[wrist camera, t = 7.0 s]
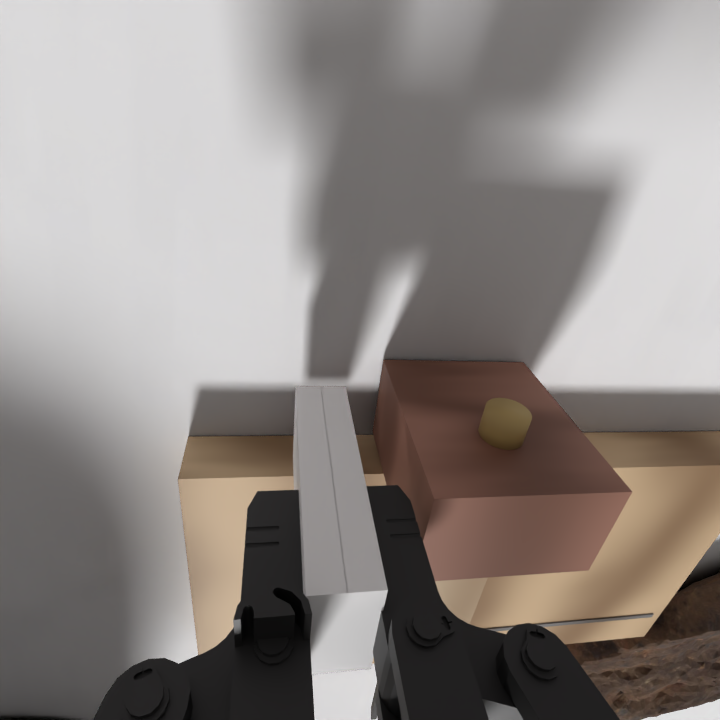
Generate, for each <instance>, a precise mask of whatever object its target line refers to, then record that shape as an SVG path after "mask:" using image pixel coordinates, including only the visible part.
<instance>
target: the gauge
mask: <svg viewBox="0 0 720 720" xmlns="http://www.w3.org/2000/svg"><path fill="white" fill-rule="evenodd" d="M372 431H373V435H374V439H375V443H376V447H377V451H378V454H379V458H380V462H381V466H382V470H383V473H384V477H385V481H386V485H398V486H399V487H400V488H401V489H402V491H403V492H404V493H405V494H406V495H407V497H408V498H409V499H410V500H411V504H412V507H413V510H414V513H415V517H416V522H417V523H418V527H419V530H420V536H421V537H422V540H423V543H424V546H425V550H426V553H427V556H428V560H429V563H430V566H431V569H432V573H433V576H434V579H435V583H436V586H437V589H438V592H439V594H440V597H441V599H442V601H443V602H444V604H445V605H446V606H447V608H448V609H449V610H450V611H451V612H452V613H453V614H454V615H455V616H456V617H458V618H459V619H461V620H463V621H464V622H466V623H468V624H470V622H471V619H472V617H473V614H474V611H475V609H476V606H477V604H478V601H479V599H480V596H481V594H482V591H483V589H484V586H485V583H486V581H487V578H489V577H503V576H518V575H532V574H547V573H561V572H575V571H589V569H590V567H591V565H592V564H593V562H594V560H595V558H596V556H597V555H598V553H599V551H600V549H601V547H602V546H603V544H604V542H605V540H606V538H607V537H608V535H609V533H610V531H611V530H612V528H613V526H614V524H615V522H616V521H617V519H618V517H619V515H620V513H621V512H622V510H623V508H624V506H625V504H626V503H627V501H628V499H629V497H630V495H631V494H632V491H631V489H630V488H629V487H628V486H627V485H626V484H625V482H624V481H623V480H622V479H621V478H620V476H619V475H618V474H617V473H616V472H615V470H614V469H613V468H612V467H611V466H610V465H609V463H608V462H607V461H606V460H605V459H604V457H603V456H602V455H601V454H600V453H599V451H598V450H597V449H596V448H595V447H594V446H593V444H592V443H591V442H590V441H589V440H588V438H587V437H586V436H585V435H584V434H583V432H582V431H581V430H580V429H579V428H578V427H577V425H576V424H575V423H574V422H573V421H572V419H571V418H570V417H569V416H568V415H567V413H566V412H565V411H564V410H563V409H562V408H561V406H560V405H559V404H558V403H557V402H556V400H555V399H554V398H553V397H552V396H551V394H550V393H549V392H548V391H547V390H546V388H545V387H544V386H543V385H542V384H541V383H540V381H539V380H538V379H537V378H536V377H535V375H534V374H533V373H532V372H531V371H530V369H529V368H528V367H527V366H526V365H525V364H524V362H477V361H425V360H383V366H382V373H381V379H380V386H379V392H378V398H377V405H376V411H375V417H374V424H373V430H372Z"/></svg>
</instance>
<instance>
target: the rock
mask: <svg viewBox="0 0 720 720" xmlns="http://www.w3.org/2000/svg"><path fill="white" fill-rule="evenodd" d="M565 645H566V646H567V647H568V649H569V650H570V652H571V653H572V654H573V656H574V657H575V658H576V660H577V661H578V663H579V664H580V665H581V667H582V668H583V669H584V671H585V672H586V674H587V675H588V676H589V678H590V679H591V680H592V682H593V683H594V685H595V686H596V687H597V689H598V690H599V691H600V693H601V694H602V696H603V697H604V698H605V700H606V701H607V702H608V704H609V705H610V707H611V708H612V709H613V711H614V712H615V713H616V715H617V716H618V718H619V719H620V720H641V719H644V718H647V717H656V716H659V715H661V714H665V713H669V712H674V711H678V710H683V709H687V708H689V707H695V706H698V705H702V704H704V703H707V702H713V701H715V700H717V699H720V572H719V573H717V574H716V575H713V576H710V577H708V578H705V579H702V580H700V581H698V582H695V583H693V584H691V585H689V586H688V587H686V588H684V589H683V590H681V591H679V592H677V593H676V594H675V595H674V596H673V598H672V599H671V601H670V602H669V603H668V605H667V606H666V607H665V609H664V610H663V611H662V613H661V614H660V616H659V617H658V618H657V620H656V621H655V622H654V624H653V625H652V626H651V628H650V629H649V631H648V632H647V633H646V635H645V636H644V637H634V638H624V639H614V640H604V641H594V642H584V643H574V644H565Z"/></svg>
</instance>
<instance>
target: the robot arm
mask: <svg viewBox="0 0 720 720" xmlns="http://www.w3.org/2000/svg"><path fill="white" fill-rule="evenodd" d="M293 476H294V490H275V491H257V493H256V494H255V496H254V498H253V500H252V501H251V503H250V505H249V506H248V508H247V521H246V534H245V548H244V561H243V575H242V588H241V601H240V603H239V604H238V605H237V608H236V612H235V615H234V619H233V625H234V627H233V629H232V630H231V631H230V633H229V634H228V635H227V637H226V638H225V639H224V640H223V641H221V642H220V643H219V644H218V645H217V646H215V647H214V648H212V649H210V650H208V651H207V652H205V653H202V654H200V655H198V656H196V657H193V658H191V659H189V660H186V661H184V662H182V663H179V664H178V663H175V662H173V661H171V660H168V659H166V658H159V659H148V660H146V661H143V662H141V663H138V664H136V665H134V666H132V667H131V668H129V669H128V670H127V671H126V672H125V673H123V674H122V675H121V676H120V677H118V678H117V680H116V681H115V682H114V684H113V685H112V687H111V688H110V690H109V691H108V693H107V694H106V696H105V698H104V700H103V702H102V704H101V706H100V708H99V710H98V712H97V714H96V716H95V718H94V720H314V704H313V686H312V675H314V674H324V673H334V672H344V671H353V670H363V669H371V666H372V662H373V657H374V663H375V670H376V676H377V685H376V689H375V693H374V697H373V702H372V706H371V719H376V718H377V716H378V720H620V719H619V718H618V716H617V715H616V713H615V712H614V711H613V709H612V708H611V707H610V705H609V704H608V702H607V701H606V700H605V698H604V697H603V696H602V694H601V693H600V691H599V690H598V689H597V687H596V686H595V685H594V683H593V682H592V680H591V679H590V678H589V676H588V675H587V674H586V672H585V671H584V669H583V668H582V667H581V665H580V664H579V663H578V661H577V660H576V658H575V657H574V656H573V654H572V653H571V652H570V650H569V649H568V647H567V646H566V645H565V644H564V643H563V642H562V641H561V640H560V639H559V638H558V637H557V636H556V635H555V634H554V633H552V632H550V631H549V630H547V629H546V628H544V627H542V626H539V625H535V624H531V623H525V624H518V625H516V626H514V627H513V628H512V629H510V630H509V631H508V632H507V634H503V633H499V632H496V631H492V630H488V629H484V628H480V627H476V626H474V625H471V624H468V623H466V622H464V621H463V620H461V619H459V618H458V617H456V616H455V615H454V614H453V613H452V612H451V611H450V610H449V609H448V608H447V606H446V605H445V604H444V602H443V601H442V599H441V597H440V594H439V592H438V589H437V586H436V583H435V579H434V576H433V573H432V569H431V566H430V563H429V560H428V556H427V553H426V550H425V546H424V543H423V540H422V537H421V536H420V530H419V527H418V523H417V522H416V517H415V513H414V510H413V507H412V504H411V500H410V499H409V498H408V497H407V495H406V494H405V493H404V492H403V491H402V489H401V488H400V487H399V486H398V485H386V486H366V482H365V477H364V473H363V468H362V463H361V458H360V453H359V448H358V444H357V439H356V434H355V429H354V424H353V420H352V415H351V410H350V405H349V400H348V395H347V391H346V386H296V387H295V413H294V439H293Z"/></svg>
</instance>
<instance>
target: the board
mask: <svg viewBox="0 0 720 720" xmlns="http://www.w3.org/2000/svg"><path fill="white" fill-rule="evenodd" d="M583 434H584V435H585V436H586V437H587V438H588V440H589V441H590V442H591V443H592V444H593V446H594V447H595V448H596V449H597V450H598V451H599V453H600V454H601V455H602V456H603V457H604V459H605V460H606V461H607V462H608V463H609V465H610V466H611V467H612V468H613V469H614V470H615V472H616V473H617V474H618V475H619V476H620V478H621V479H622V480H623V481H624V482H625V484H626V485H627V486H628V487H629V488H630V489H631V491H632V494H631V495H630V497H629V499H628V501H627V503H626V504H625V506H624V508H623V510H622V512H621V513H620V515H619V517H618V519H617V521H616V522H615V524H614V526H613V528H612V530H611V531H610V533H609V535H608V537H607V538H606V540H605V542H604V544H603V546H602V547H601V549H600V551H599V553H598V555H597V556H596V558H595V560H594V562H593V564H592V565H591V567H590V569H589V571H575V572H561V573H547V574H532V575H518V576H503V577H489V578H487V581H486V583H485V586H484V589H483V591H482V594H481V596H480V599H479V601H478V604H477V606H476V609H475V611H474V614H473V617H472V619H471V622H470V624H471V625H474V626H476V627H480V628H484V629H488V630H492V631H496V632H499V633H503V634H507V632H508V631H509V630H510V629H512V628H513V627H514V626H516V625H518V624H525V623H531V624H535V625H539V626H542V627H544V628H546V629H547V630H549V631H550V632H552V633H554V634H555V635H556V636H557V637H558V638H559V639H560V640H561V641H562V642H563V643H564V644H574V643H584V642H594V641H604V640H614V639H624V638H634V637H644V636H645V635H646V633H647V632H648V631H649V629H650V628H651V626H652V625H653V624H654V622H655V621H656V620H657V618H658V617H659V616H660V614H661V613H662V611H663V610H664V609H665V607H666V606H667V605H668V603H669V602H670V601H671V599H672V598H673V596H674V595H675V594H676V592H677V591H678V590H679V588H680V587H681V586H682V584H683V583H684V581H685V580H686V579H687V577H688V576H689V575H690V573H691V572H692V571H693V569H694V568H695V566H696V565H697V564H698V562H699V561H700V560H701V558H702V557H703V556H704V554H705V553H706V551H707V550H708V549H709V547H710V546H711V545H712V543H713V542H714V541H715V539H716V538H717V536H718V535H719V534H720V431H685V432H587V433H583ZM293 439H294V436H197V437H188V440H187V444H186V448H185V452H184V457H183V461H182V465H181V469H180V473H179V477H178V484H179V493H180V501H181V510H182V518H183V527H184V536H185V544H186V553H187V561H188V570H189V579H190V587H191V596H192V604H193V613H194V622H195V630H196V639H197V648H198V655H200V654H202V653H205V652H207V651H208V650H210V649H212V648H214V647H215V646H217V645H218V644H219V643H220V642H221V641H223V640H224V639H225V638H226V637H227V635H228V634H229V633H230V631H231V630H232V629H233V627H234V625H233V619H234V615H235V612H236V608H237V605H238V604H239V603H240V601H241V588H242V575H243V561H244V548H245V534H246V521H247V508H248V506H249V505H250V503H251V501H252V500H253V498H254V496H255V494H256V493H257V491H275V490H294V476H293ZM356 439H357V444H358V448H359V453H360V458H361V463H362V468H363V473H364V477H365V482H366V486H386V481H385V477H384V473H383V470H382V466H381V462H380V458H379V454H378V451H377V447H376V443H375V439H374V435H356ZM373 663H374V657H373V662H372V664H373Z"/></svg>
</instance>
